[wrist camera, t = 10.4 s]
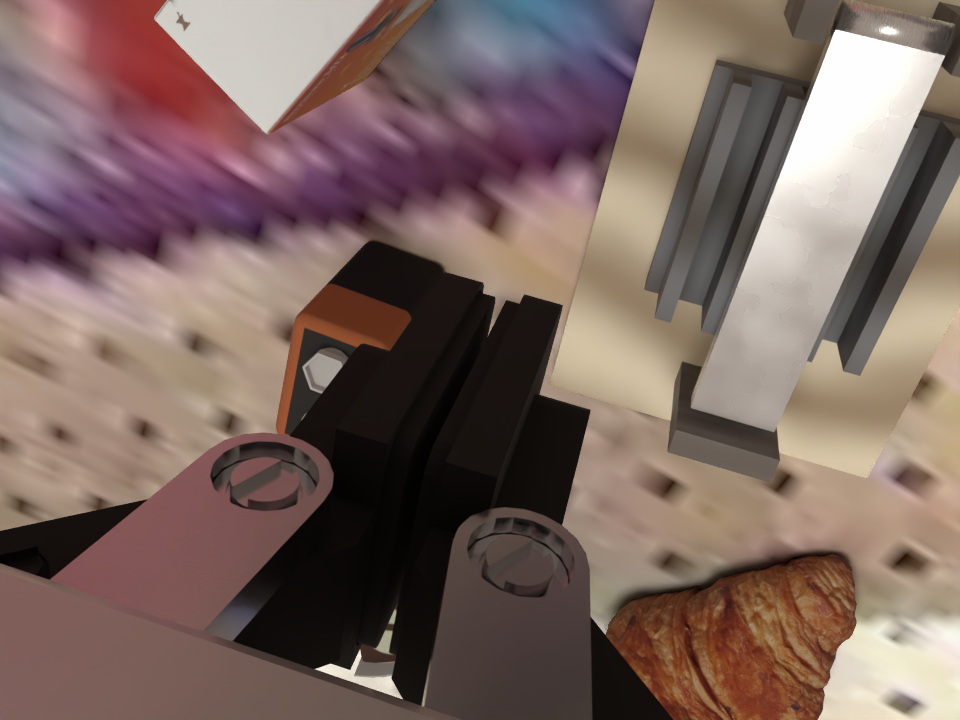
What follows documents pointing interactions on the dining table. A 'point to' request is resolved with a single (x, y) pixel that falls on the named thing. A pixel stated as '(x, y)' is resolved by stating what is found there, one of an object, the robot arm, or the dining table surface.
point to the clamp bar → (819, 206)
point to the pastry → (742, 641)
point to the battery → (351, 322)
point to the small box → (287, 47)
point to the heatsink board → (729, 228)
